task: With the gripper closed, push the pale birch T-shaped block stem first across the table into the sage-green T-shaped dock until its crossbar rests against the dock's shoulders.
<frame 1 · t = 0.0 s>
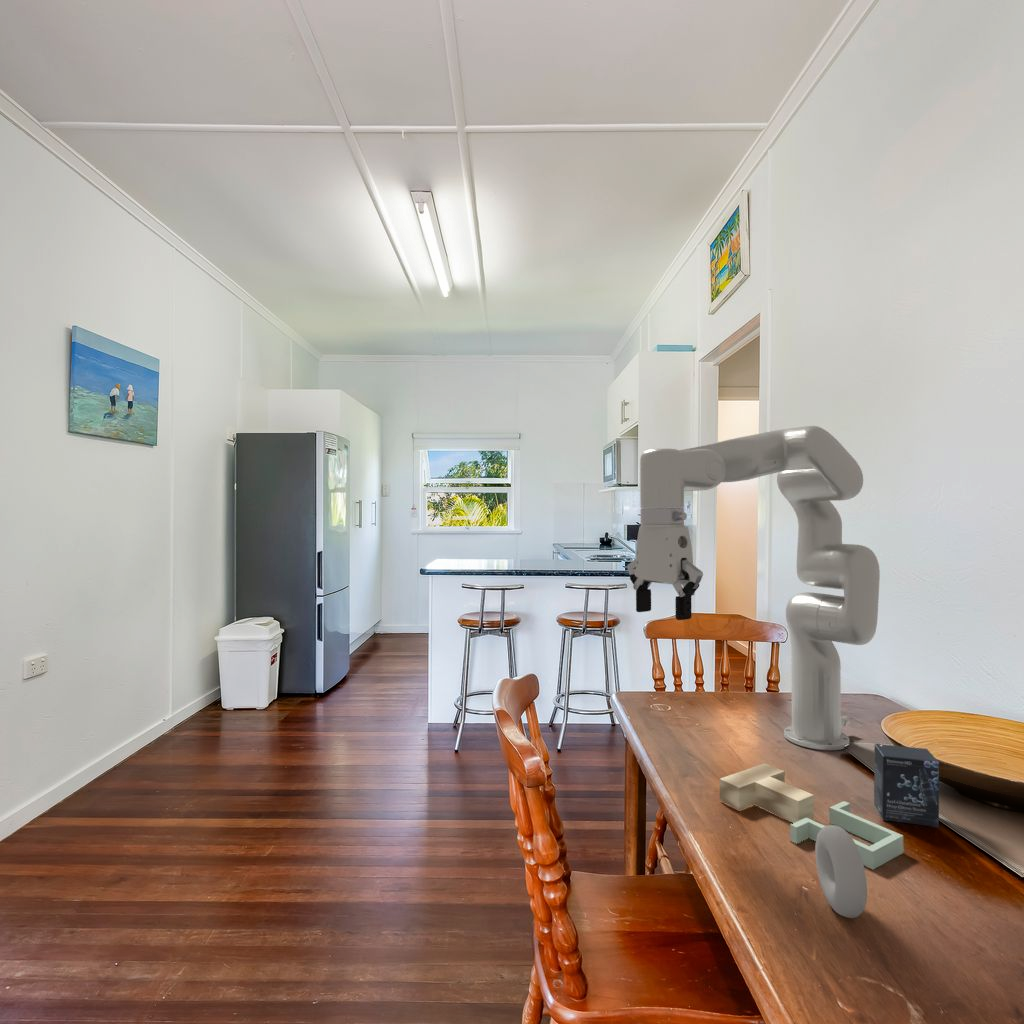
hand: (662, 615, 108), 31 cm above the table, tool pointing down, fingers open, 9 cm apart
t block: (773, 807, 102), on the table
box: (905, 817, 99), on the table
t dock: (830, 834, 94), on the table
donut: (840, 911, 76), on the table
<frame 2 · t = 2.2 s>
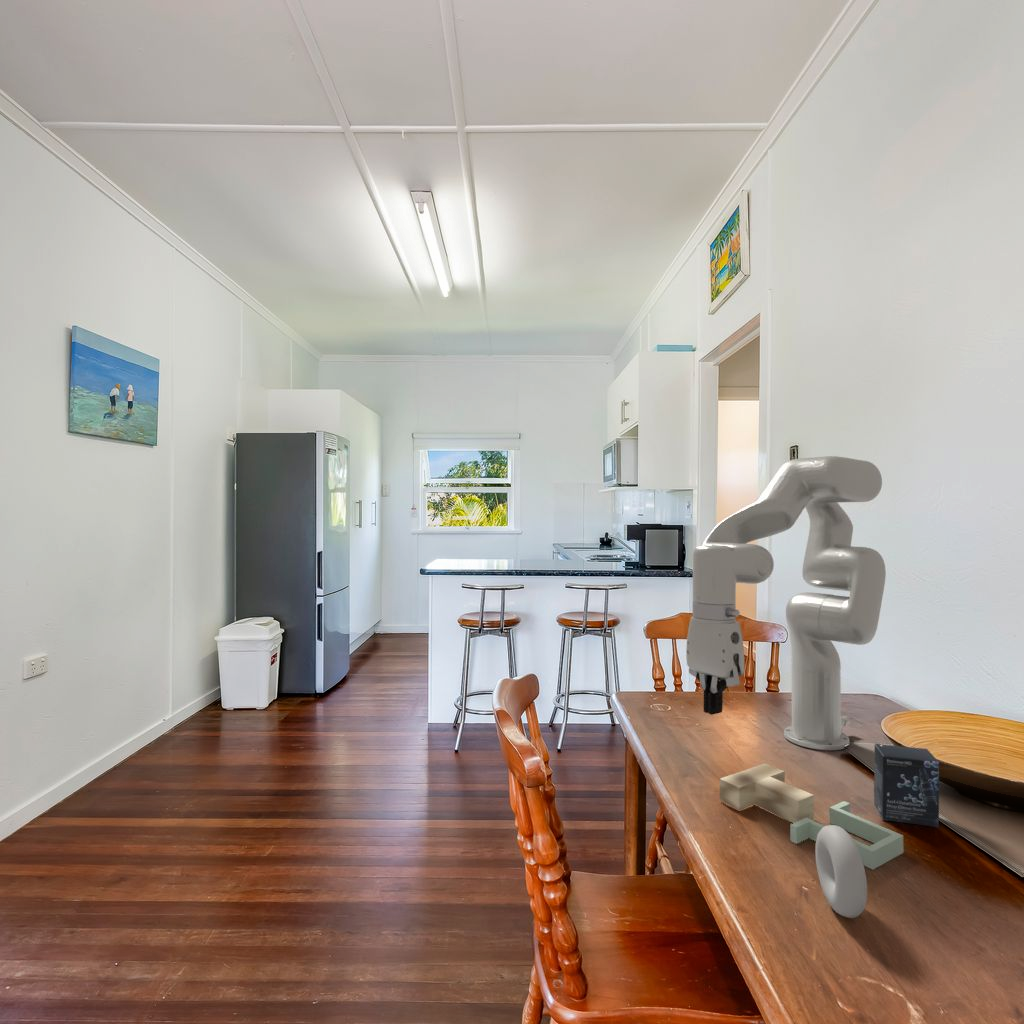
hand: (712, 712, 112), 13 cm above the table, tool pointing down, fingers closed
nothing on the table moved.
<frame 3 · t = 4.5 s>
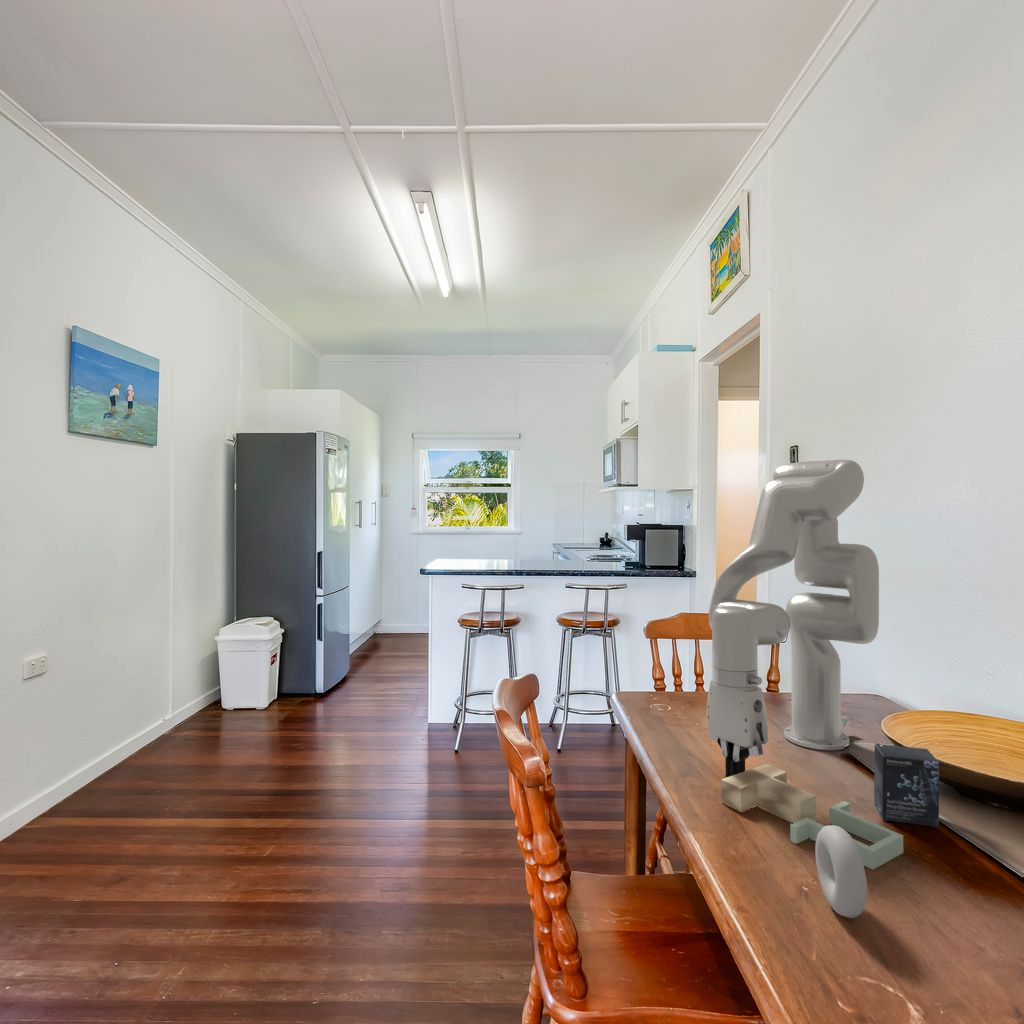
hand: (735, 779, 109), 2 cm above the table, tool pointing down, fingers closed
t block: (775, 808, 102), on the table, touching gripper
everything else where it was.
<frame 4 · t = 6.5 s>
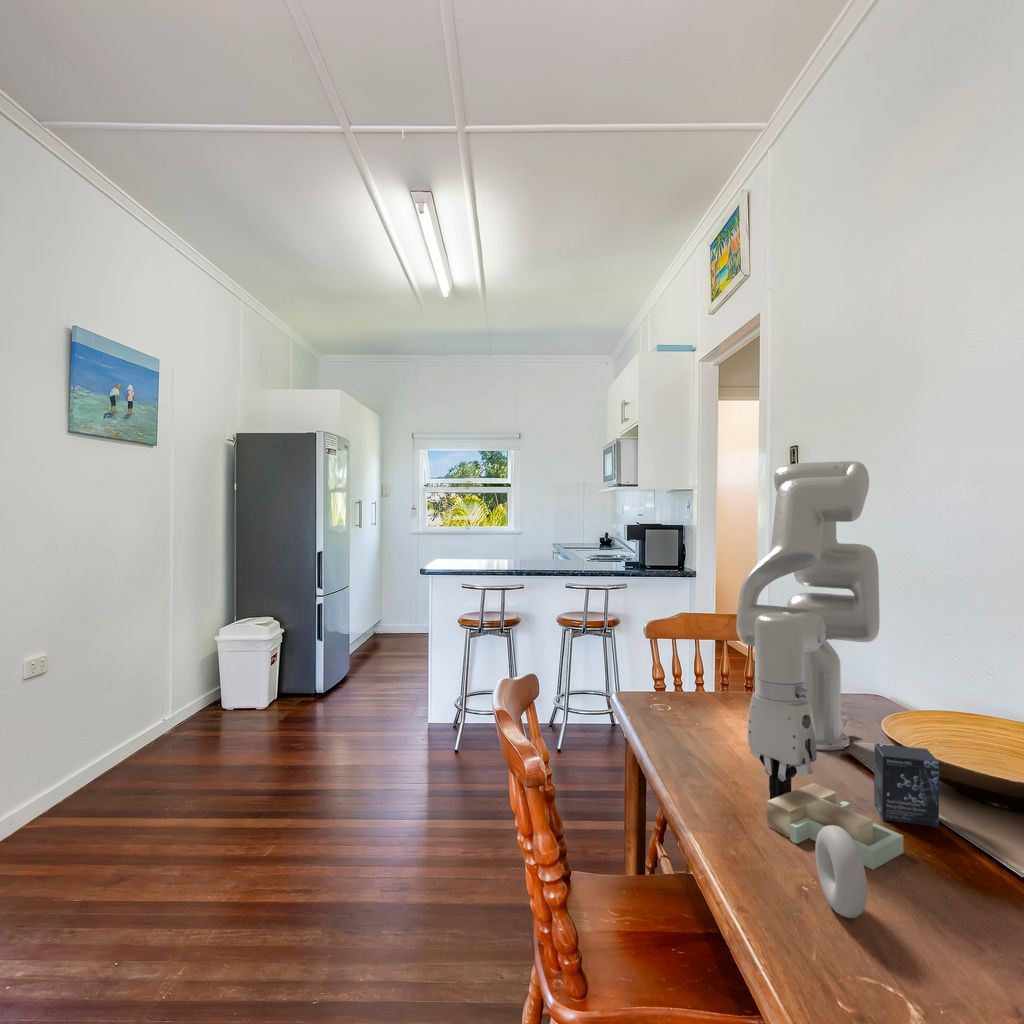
hand: (780, 800, 101), 2 cm above the table, tool pointing down, fingers closed
t block: (826, 832, 94), on the table, touching gripper
everything else where it was.
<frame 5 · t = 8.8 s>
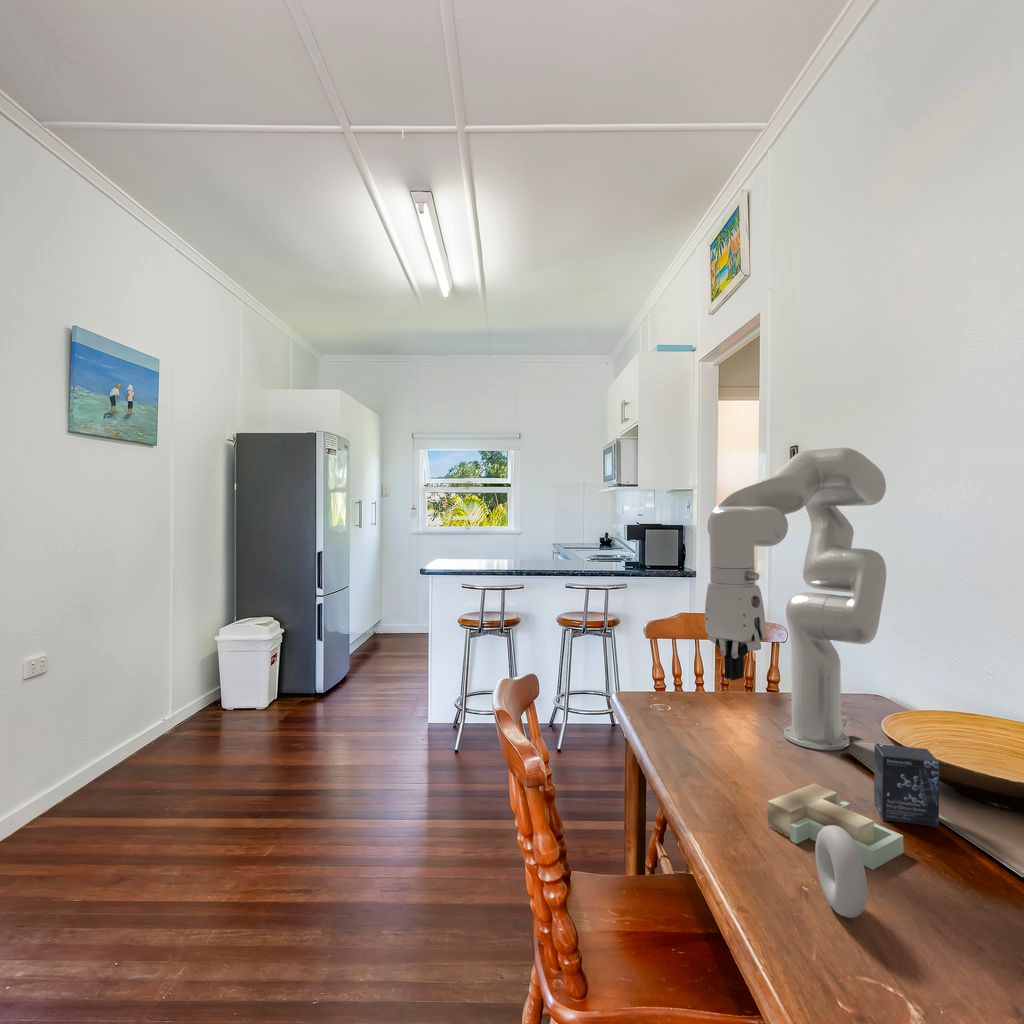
hand: (734, 677, 110), 19 cm above the table, tool pointing down, fingers closed
t block: (826, 833, 94), on the table
everything else where it was.
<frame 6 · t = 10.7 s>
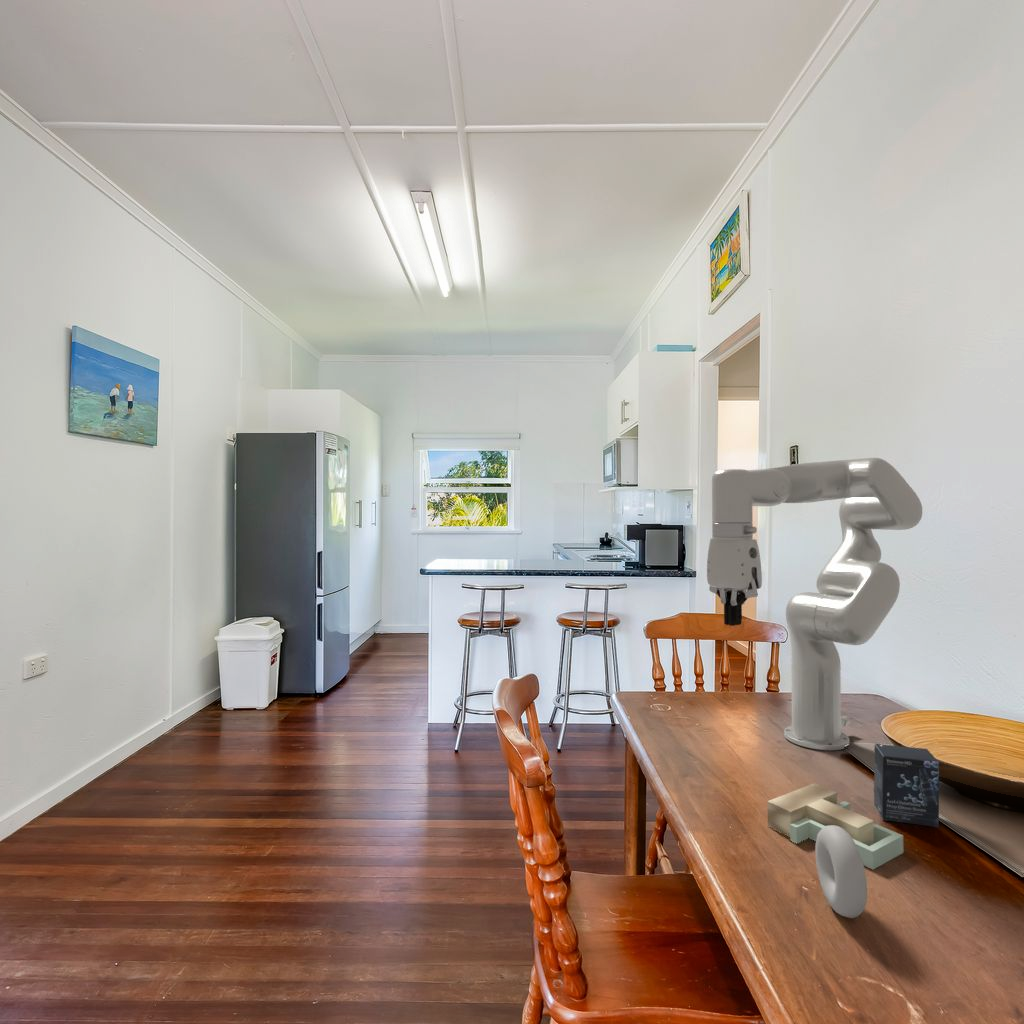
hand: (732, 624, 121), 27 cm above the table, tool pointing down, fingers closed
nothing on the table moved.
at the end: t block 0.1 cm off-centre on the t dock, point 0.0 cm above the t dock's base; t block tilted 0° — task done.
